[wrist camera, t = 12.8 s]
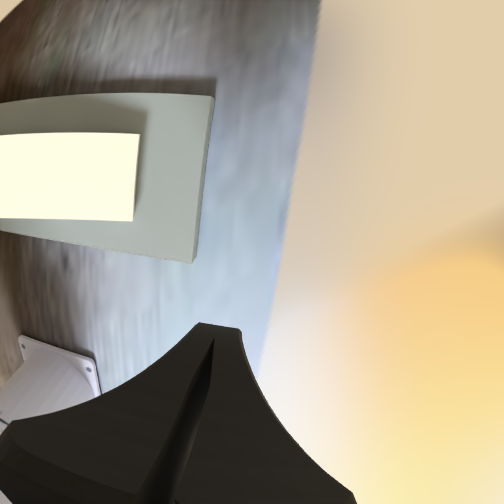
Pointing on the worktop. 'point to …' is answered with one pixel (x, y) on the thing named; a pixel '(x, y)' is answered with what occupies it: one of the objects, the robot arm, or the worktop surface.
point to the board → (148, 170)
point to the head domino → (69, 176)
